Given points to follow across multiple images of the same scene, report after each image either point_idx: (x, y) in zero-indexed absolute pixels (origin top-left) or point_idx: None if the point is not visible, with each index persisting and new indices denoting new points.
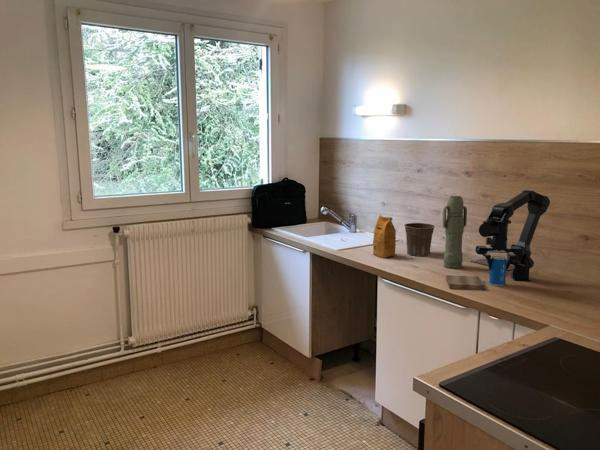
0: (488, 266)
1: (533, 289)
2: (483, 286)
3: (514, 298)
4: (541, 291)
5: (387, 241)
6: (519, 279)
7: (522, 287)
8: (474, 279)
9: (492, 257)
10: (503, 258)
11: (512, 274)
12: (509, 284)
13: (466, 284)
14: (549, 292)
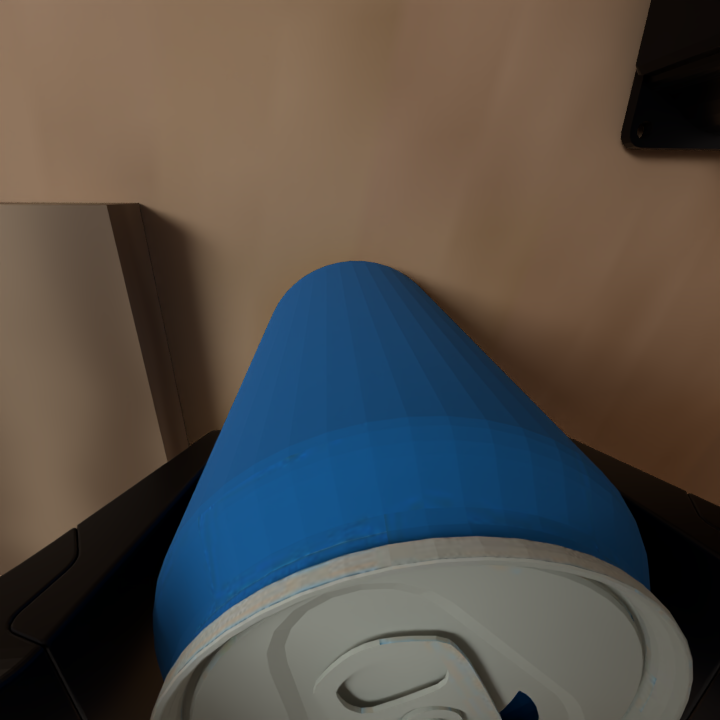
0: (176, 463)
1: (635, 443)
2: None
3: None
4: (667, 482)
5: None
6: (690, 134)
7: (571, 401)
8: (64, 382)
9: (186, 685)
10: (579, 718)
11: (681, 29)
12: (487, 318)
13: (5, 567)
14: (711, 494)
